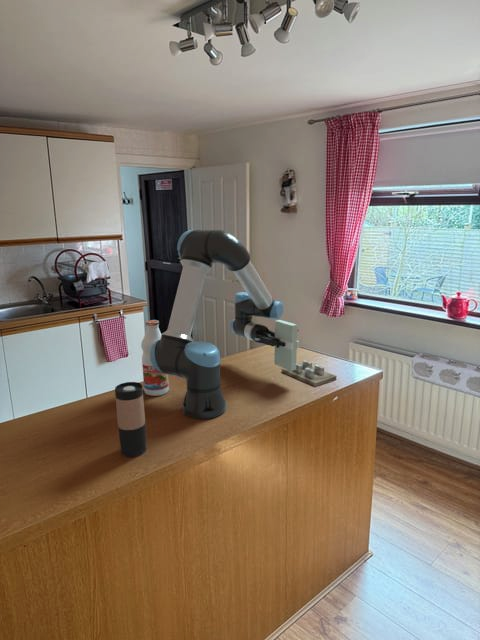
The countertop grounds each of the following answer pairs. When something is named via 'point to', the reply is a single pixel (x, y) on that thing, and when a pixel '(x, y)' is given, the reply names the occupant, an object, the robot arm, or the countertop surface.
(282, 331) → the door
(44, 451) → the countertop surface
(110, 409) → the countertop surface
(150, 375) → the fruit juice
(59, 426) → the countertop surface
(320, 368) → the hinge base
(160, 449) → the countertop surface
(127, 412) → the travel mug
